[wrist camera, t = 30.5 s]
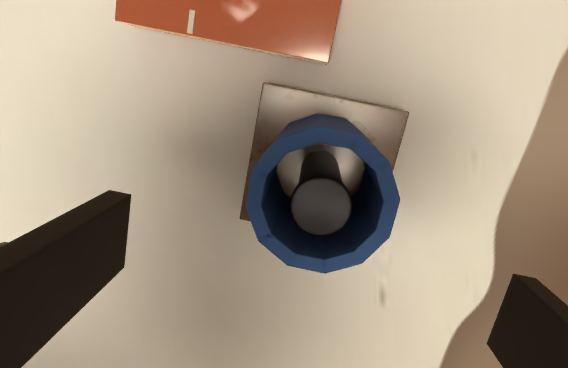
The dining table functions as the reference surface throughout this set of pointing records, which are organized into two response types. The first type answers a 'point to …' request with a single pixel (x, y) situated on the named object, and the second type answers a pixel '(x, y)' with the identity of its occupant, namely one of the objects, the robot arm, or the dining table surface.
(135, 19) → the dial panel
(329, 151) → the brown base with rod
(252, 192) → the sleeve
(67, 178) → the dining table surface
